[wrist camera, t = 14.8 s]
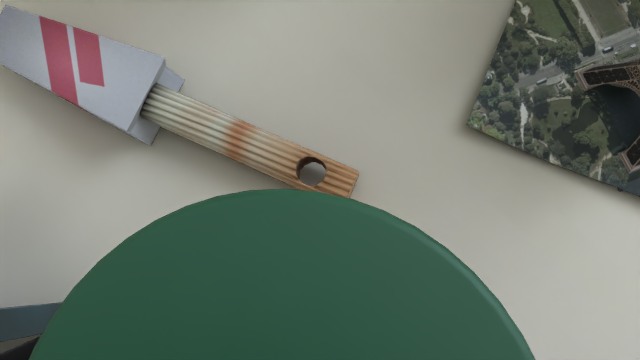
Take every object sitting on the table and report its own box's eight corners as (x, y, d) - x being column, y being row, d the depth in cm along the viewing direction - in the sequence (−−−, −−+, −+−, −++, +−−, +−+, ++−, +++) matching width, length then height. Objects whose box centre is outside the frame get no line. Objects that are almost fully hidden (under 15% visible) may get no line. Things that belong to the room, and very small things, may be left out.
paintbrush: (-9, -21, 24) (369, 149, 22) (27, 7, 27) (367, 161, 24) (-51, 47, 24) (331, 229, 21) (-10, 69, 26) (333, 233, 24)
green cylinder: (422, 375, 15) (659, 854, 3) (292, 386, 16) (-32, 857, 3) (405, 243, 16) (529, 141, 4) (281, 255, 17) (-15, 205, 4)
